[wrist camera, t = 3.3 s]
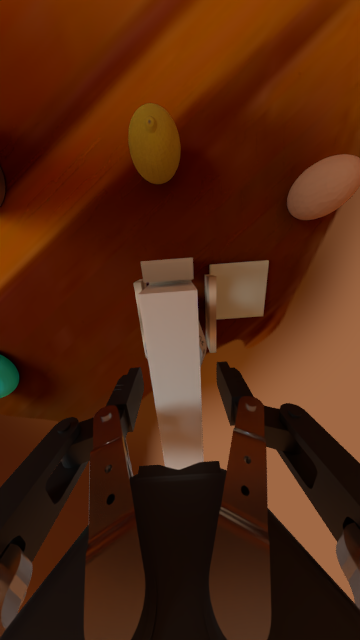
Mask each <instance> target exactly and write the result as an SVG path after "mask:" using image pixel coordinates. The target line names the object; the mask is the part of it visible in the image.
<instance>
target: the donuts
mask: <svg viewBox="0 0 360 640" xmlns="http://www.w3.org/2000/svg"><path fill="white" fill-rule="evenodd" d="M18 383H19V373H18V370H17V368H16V367H15V365H14V364H13V363H12V362H11V361H10V360H9V359H7V358H6V357H4V356H2V355H0V398H2V397H5V396H7V395H9V394H10V393H11V392H13V391H14V390H15V389H16V387H17V385H18Z"/></svg>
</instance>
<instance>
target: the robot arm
mask: <svg viewBox="0 0 360 640" xmlns="http://www.w3.org/2000/svg"><path fill="white" fill-rule="evenodd" d="M4 196H5V180H4V175H3V172H2V170H1V167H0V206H1V204H2V202H3V200H4ZM217 385H218V389H219V392H220V395H221V398H222V401H223V404H224V407H225V410H226V413H227V416H228V420H229V422H230V425H235V428H234V430H233V436H232V442H231V448H230V454H229V460H228V466H227V470H224V469H221V468H220V465H219V461H212V462H199V463H196V464H193V465H191V466H188V467H186V468H183V469H180V470H177V469H173V468H169V467H165V466H161V465H149V466H139V471H138V474H137V475H135V476H133V474H132V469H131V464H130V459H129V453H128V448H127V443H126V435H127V432H133V429H134V426H135V422H136V418H137V414H138V410H139V406H140V403H141V399H142V395H143V390H144V383H143V377H142V372H141V368H140V367H139V368H130V370H129V372H128V375H123V376H122V377H121V378H120V379H119V380H118V382H117V384H116V386H115V389H114V391H113V393H112V395H111V397H110V399H109V401H108V403H107V405H106V406H105V407H103V408H101V409H100V410H99V411H98V412H97V413H96V414H95V416H94V418H91V419H88V420H85V421H82V422H78V420H77V419H76V418H74V417H71V418H67V419H64V420H62V421H60V422H59V423H58V424H56V425H55V426H54V427H53V429H52V430H51V431H50V432H49V433H48V434H47V435H46V436H45V437H44V439H43V440H42V441H41V442H40V443H39V444H38V445H37V446H36V448H35V449H34V450H33V451H32V452H31V453H30V454H29V456H28V457H27V458H26V459H25V460H24V461H23V462H22V464H21V465H20V466H19V467H18V468H17V469H16V470H15V472H13V474H12V475H11V476H10V477H9V478H8V479H7V480H6V482H5V483H4V484H3V485H2V486H1V487H0V640H360V463H359V462H358V461H357V460H356V459H354V457H353V456H352V455H351V454H349V453H348V452H347V451H346V450H345V449H344V448H343V447H342V446H341V445H340V444H339V443H338V442H337V441H336V440H335V439H334V438H333V437H332V436H331V435H330V434H329V433H328V432H327V431H325V429H324V428H323V427H321V425H319V424H318V423H317V422H316V421H315V420H314V419H313V418H312V417H311V416H310V415H309V414H308V413H307V412H306V411H305V410H304V409H302V408H301V407H299V406H297V405H294V404H290V403H286V404H283V405H281V407H280V409H276V408H272V407H267V406H264V405H263V404H262V403H261V401H260V400H258V399H257V398H255V397H253V395H252V393H251V391H250V389H249V388H248V386H247V384H246V382H245V381H244V379H243V378H242V375H241V373H240V372H239V371H238V370H237V369H235V368H230V367H229V365H228V363H227V362H217ZM266 447H269V448H273V449H276V450H277V451H278V453H279V454H280V456H281V458H282V459H283V461H284V462H285V463H286V465H287V467H288V468H289V470H290V471H291V473H292V474H293V475H294V477H295V479H296V480H297V482H298V483H299V485H300V486H301V488H302V489H303V491H304V492H305V494H306V495H307V497H308V498H309V500H310V501H311V503H312V504H313V506H314V507H315V509H316V510H317V512H318V513H319V515H320V516H321V518H322V519H323V521H324V522H325V524H326V526H327V527H328V528H329V530H330V532H331V533H332V535H333V536H334V538H335V539H336V540H337V545H336V554H337V558H338V561H339V564H340V566H341V569H342V570H343V572H344V574H345V576H346V578H347V580H348V582H349V584H350V587H351V589H352V592H353V595H354V600H355V603H354V602H353V601H352V600H351V599H350V598H349V597H348V596H347V595H346V593H345V592H344V591H343V590H342V589H341V588H340V587H339V586H338V585H337V584H336V583H335V582H334V580H333V579H332V578H331V577H330V576H329V575H328V574H327V573H326V572H325V571H324V569H323V568H322V567H321V566H320V565H319V564H318V563H317V562H316V561H315V559H313V557H312V556H311V555H310V554H309V553H308V552H307V551H306V550H305V549H304V547H303V546H302V545H301V544H300V543H299V542H298V541H297V540H296V539H295V537H293V535H292V534H291V533H290V532H289V531H288V530H287V529H286V528H285V526H284V525H283V524H282V523H281V522H280V521H279V520H278V519H277V518H276V517H275V516H274V514H273V513H272V512H271V511H270V510H269V509H268V508H267V463H266V462H267V461H266ZM88 461H90V484H89V486H90V487H89V525H88V526H87V527H86V528H85V530H84V531H83V532H82V533H81V535H80V536H79V537H78V539H77V540H76V541H75V542H74V544H73V545H72V546H71V547H70V549H69V550H68V551H67V553H66V554H65V555H64V556H63V557H62V559H61V560H60V561H59V563H58V564H57V565H56V566H55V568H54V569H53V570H52V571H51V573H50V574H49V575H48V576H47V578H46V579H45V580H44V581H43V583H42V584H41V585H40V586H39V588H38V589H37V590H36V592H35V593H34V594H33V595H32V597H31V598H30V599H29V600H28V602H27V603H26V604H25V605H24V607H23V608H22V609H21V610H20V612H19V613H18V609H19V607H20V606H21V604H22V602H23V600H24V598H25V595H26V590H27V588H28V585H29V582H30V579H31V575H32V561H33V560H34V558H35V556H36V554H37V552H38V551H39V549H40V547H41V545H42V543H43V542H44V540H45V538H46V536H47V534H48V533H49V531H50V529H51V527H52V526H53V524H54V522H55V520H56V518H57V517H58V515H59V513H60V511H61V509H62V508H63V506H64V504H65V502H66V501H67V499H68V497H69V495H70V493H71V492H72V490H73V488H74V486H75V485H76V483H77V481H78V479H79V477H80V476H81V474H82V472H83V470H84V469H85V467H86V465H87V463H88ZM56 466H57V467H56ZM54 469H55V470H54ZM49 476H50V477H49ZM17 613H18V614H17Z"/></svg>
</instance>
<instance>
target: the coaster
mask: <svg viewBox="0 0 360 640" xmlns="http://www.w3.org/2000/svg"><path fill="white" fill-rule="evenodd" d="M268 265H269V260H264V261H250V262H237V263H224V264H211V265H209V275H214V276H216V319H230V318H244V317H257V316H263V313H264V304H265V294H266V284H267V275H268Z"/></svg>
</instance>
